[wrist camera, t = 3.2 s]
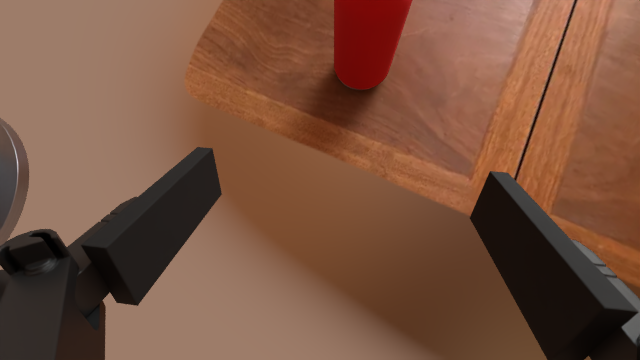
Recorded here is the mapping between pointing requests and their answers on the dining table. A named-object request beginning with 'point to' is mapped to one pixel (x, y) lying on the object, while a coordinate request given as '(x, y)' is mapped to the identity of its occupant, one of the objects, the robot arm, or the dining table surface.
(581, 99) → the dining table surface
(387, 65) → the beverage can
